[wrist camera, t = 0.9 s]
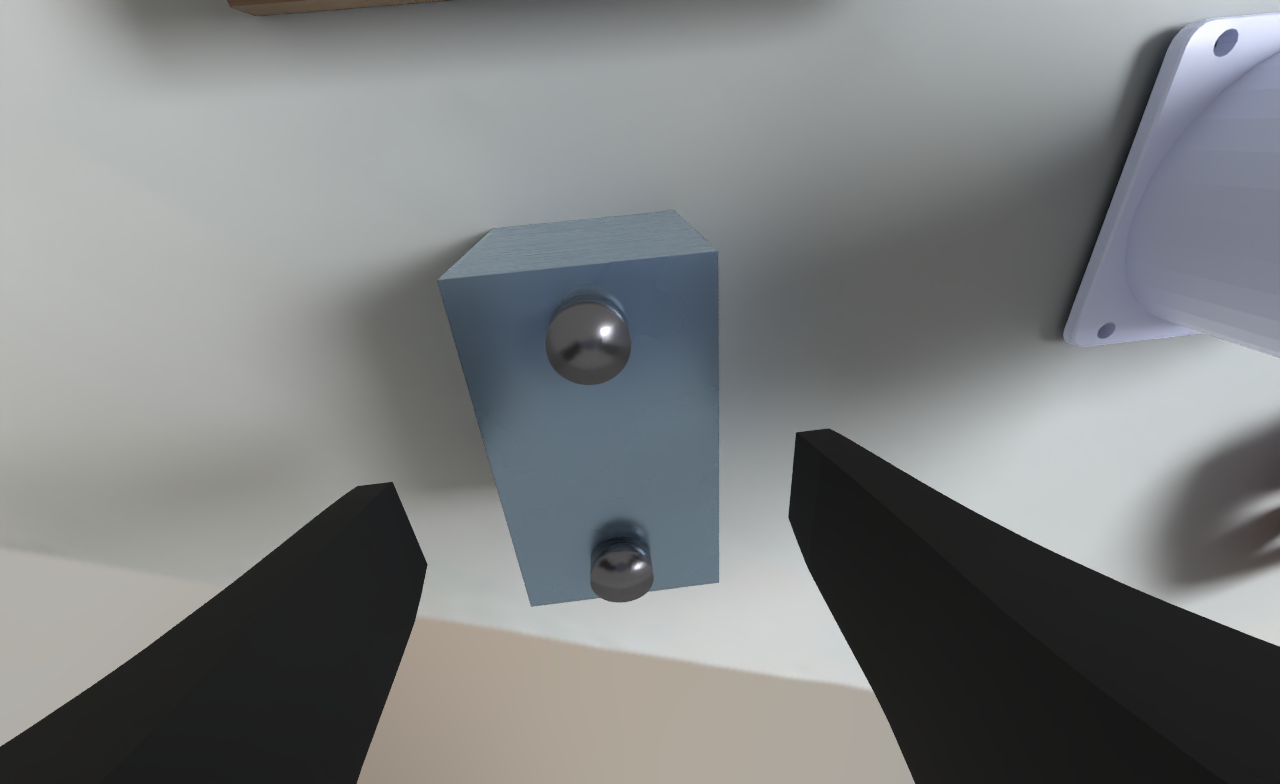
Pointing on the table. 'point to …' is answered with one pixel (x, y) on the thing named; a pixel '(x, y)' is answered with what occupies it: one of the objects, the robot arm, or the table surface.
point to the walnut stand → (308, 5)
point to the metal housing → (597, 399)
